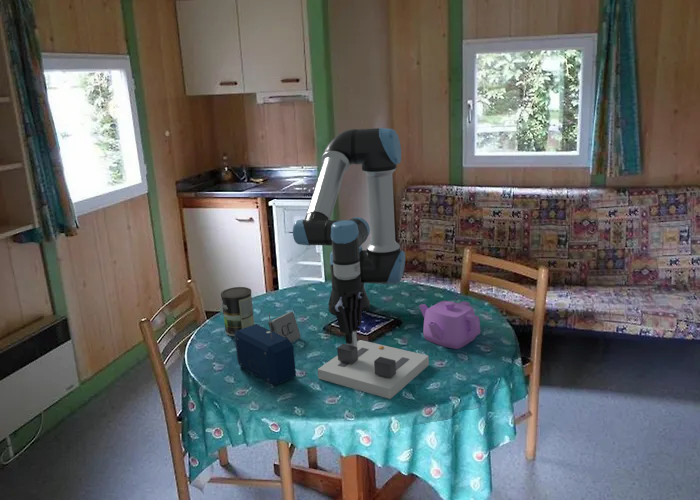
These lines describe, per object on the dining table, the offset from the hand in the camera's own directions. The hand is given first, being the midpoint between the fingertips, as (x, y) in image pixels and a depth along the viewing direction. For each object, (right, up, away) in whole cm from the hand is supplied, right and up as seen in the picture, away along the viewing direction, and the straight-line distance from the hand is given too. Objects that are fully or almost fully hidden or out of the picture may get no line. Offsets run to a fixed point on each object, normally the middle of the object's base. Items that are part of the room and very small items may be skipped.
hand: (352, 351), depth 185 cm
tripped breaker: (-1, -2, -1) cm, 3 cm away
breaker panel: (+6, -5, -2) cm, 9 cm away
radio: (-25, -7, +2) cm, 26 cm away
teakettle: (+31, +1, +17) cm, 35 cm away
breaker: (+9, -4, -11) cm, 15 cm away
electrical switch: (-22, 0, +22) cm, 31 cm away
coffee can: (-38, +2, +33) cm, 51 cm away
